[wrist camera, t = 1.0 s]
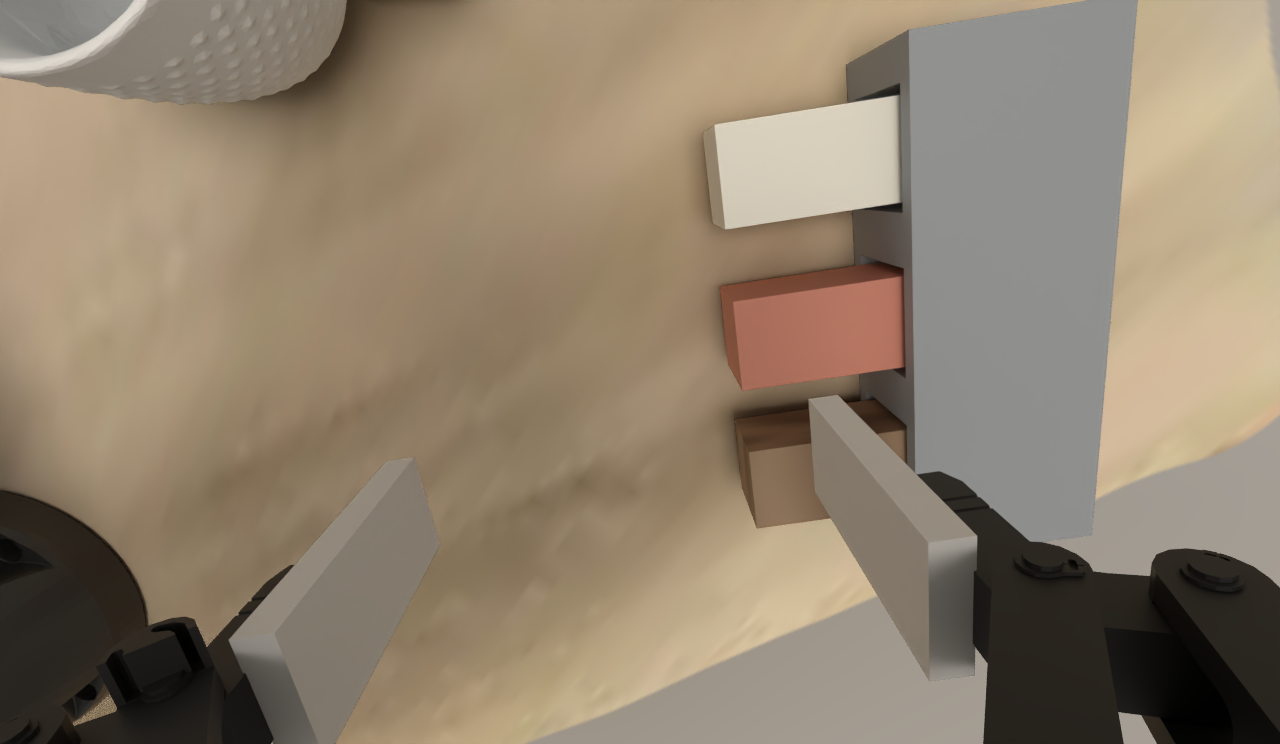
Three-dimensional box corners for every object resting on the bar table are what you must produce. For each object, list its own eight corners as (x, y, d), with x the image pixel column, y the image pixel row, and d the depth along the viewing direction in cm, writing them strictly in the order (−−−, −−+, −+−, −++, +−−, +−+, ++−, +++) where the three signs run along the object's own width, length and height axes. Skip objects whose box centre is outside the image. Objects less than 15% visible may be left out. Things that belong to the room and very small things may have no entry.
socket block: (864, 491, 34) (916, 559, 28) (846, 64, 27) (909, 29, 21) (1007, 470, 34) (1091, 535, 27) (1022, 36, 27) (1138, -8, 21)
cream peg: (712, 223, 28) (725, 229, 24) (702, 133, 27) (714, 124, 23) (904, 193, 28) (948, 195, 24) (903, 101, 27) (948, 87, 23)
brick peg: (728, 364, 30) (742, 390, 26) (719, 286, 29) (733, 301, 25) (907, 338, 30) (947, 360, 26) (905, 258, 29) (948, 269, 25)
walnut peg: (742, 487, 32) (756, 528, 29) (734, 419, 31) (748, 452, 27) (909, 464, 32) (947, 501, 28) (908, 394, 31) (947, 423, 27)
